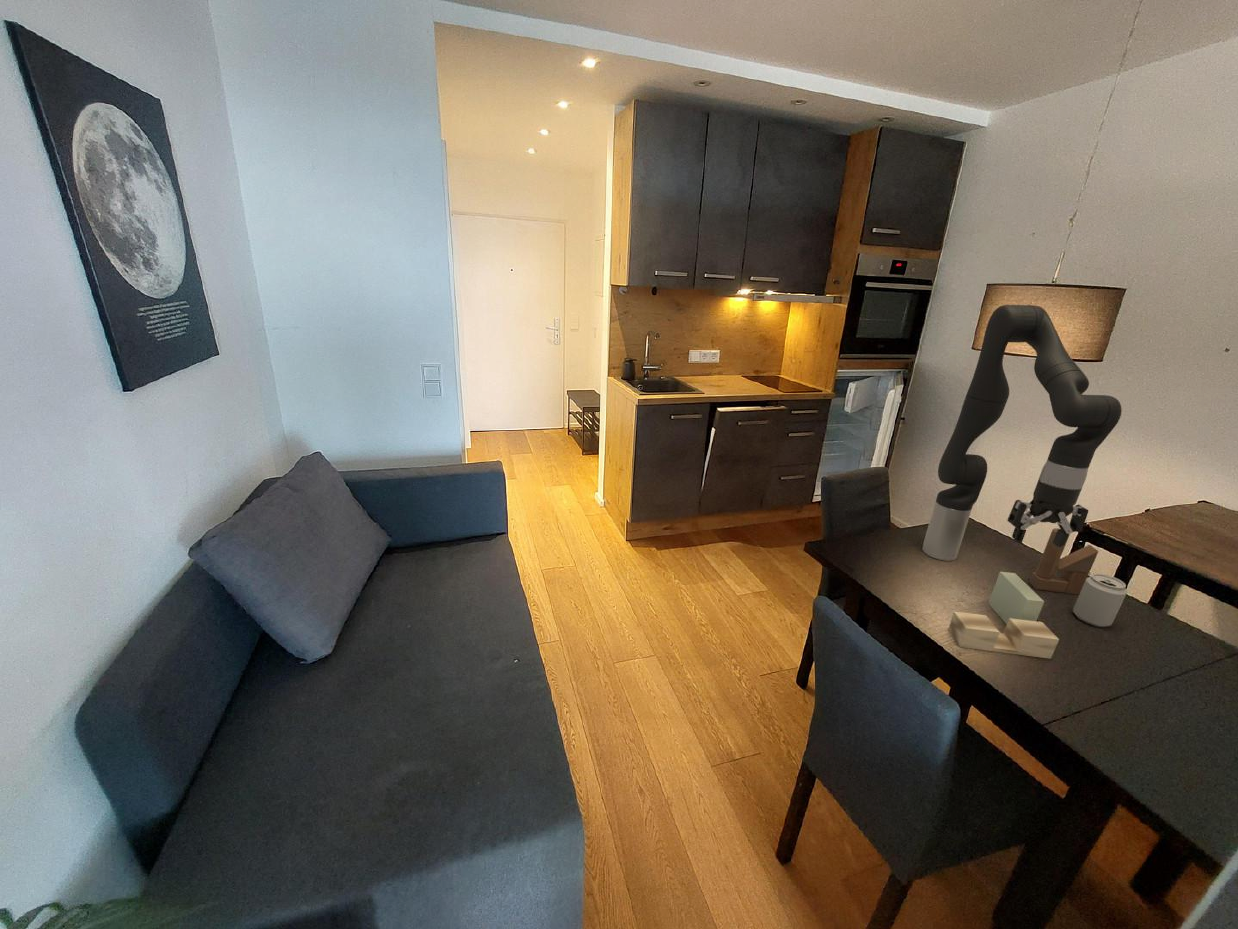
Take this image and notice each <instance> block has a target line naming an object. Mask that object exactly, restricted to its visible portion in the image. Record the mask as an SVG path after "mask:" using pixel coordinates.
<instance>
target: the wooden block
mask: <svg viewBox="0 0 1238 929" xmlns="http://www.w3.org/2000/svg"><path fill="white" fill-rule="evenodd" d="M1058 529H1059V527H1058V528H1052V531H1051V533H1050V536H1049V537H1048V540H1047V542H1046V545H1045V548H1044V550H1043V552H1042V556H1041V558H1040V560H1039V563H1038V566H1037V568H1036V571H1034V572H1031V576H1030V578H1029V581H1028V583H1029V585H1030V586H1032V587H1033V589H1035V590H1040V591H1047V592H1055V593H1061V594H1063V593H1064V594H1069V595H1075V596H1077V595H1078V596H1079V594H1080V592H1081V590H1082V587H1083V585H1084V583H1085V580H1086V579H1087V578H1088V576H1089V573H1091V569H1092V568H1093V565H1094V562H1095V561H1096V558H1097V555H1098V553H1099V550H1097V548H1095V547H1094V546H1092V544H1088V545H1086V546H1084V547H1082V548H1080V549H1078V550H1075V551H1073V552H1072V553H1069V554H1067V555H1065V556H1063V557H1062V555H1063V552H1064V550H1065V547H1066V545H1067V543H1068V540H1069V537H1070V535H1071V534H1069V536H1068V539H1067V541H1066V543H1065V545H1063V546H1062V547H1057V546H1056V545H1055V544H1054V543H1053V540H1054V538H1055V535H1056V533H1057V530H1058ZM1056 569H1058V570H1061V571H1063V572H1062V575H1061V576H1059V575H1056V574H1055V572H1056Z"/></svg>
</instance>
